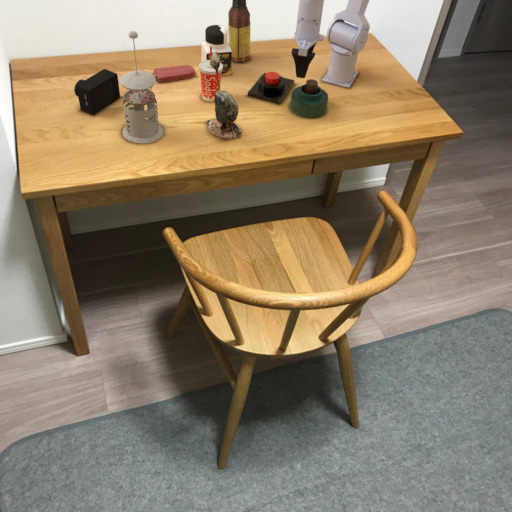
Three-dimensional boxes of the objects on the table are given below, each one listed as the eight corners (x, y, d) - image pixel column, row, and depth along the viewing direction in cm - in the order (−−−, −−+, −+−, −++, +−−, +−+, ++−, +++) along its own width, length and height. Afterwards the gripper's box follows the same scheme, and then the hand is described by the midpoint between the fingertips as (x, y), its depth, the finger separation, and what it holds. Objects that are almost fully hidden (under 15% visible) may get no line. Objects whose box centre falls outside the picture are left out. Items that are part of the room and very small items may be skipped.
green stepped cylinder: (297, 95, 153) (299, 77, 149) (330, 104, 151) (333, 85, 147) (285, 112, 147) (287, 93, 143) (319, 122, 145) (322, 103, 141)
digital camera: (104, 91, 149) (100, 66, 144) (120, 97, 147) (117, 73, 142) (76, 108, 142) (71, 83, 137) (93, 115, 141) (88, 90, 136)
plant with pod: (211, 147, 135) (212, 69, 120) (205, 120, 142) (204, 44, 128) (245, 144, 136) (249, 67, 122) (236, 118, 144) (239, 43, 129)
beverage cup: (194, 98, 149) (193, 48, 139) (206, 88, 153) (206, 38, 142) (214, 105, 147) (215, 55, 137) (226, 95, 151) (227, 45, 141)
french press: (117, 140, 134) (102, 39, 116) (131, 114, 142) (119, 15, 124) (157, 145, 134) (149, 44, 116) (169, 119, 142) (163, 20, 124)
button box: (264, 76, 159) (264, 66, 157) (294, 84, 157) (295, 74, 155) (247, 96, 151) (248, 86, 149) (278, 104, 149) (279, 94, 147)
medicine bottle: (206, 76, 157) (206, 34, 148) (201, 64, 162) (200, 23, 153) (231, 74, 159) (232, 33, 150) (225, 62, 163) (226, 21, 155)
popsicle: (138, 70, 154) (191, 63, 158) (138, 75, 155) (191, 68, 160) (142, 80, 151) (196, 72, 155) (143, 85, 152) (196, 77, 156)
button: (267, 76, 154) (268, 70, 153) (281, 79, 153) (282, 73, 152) (262, 82, 151) (262, 76, 150) (276, 86, 150) (276, 80, 149)
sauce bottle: (250, 54, 167) (254, -15, 153) (248, 64, 163) (252, -6, 149) (228, 52, 168) (230, -18, 153) (226, 62, 163) (227, -9, 149)
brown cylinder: (305, 102, 150) (308, 78, 145) (315, 105, 149) (319, 80, 144) (301, 107, 148) (304, 83, 143) (312, 110, 147) (315, 86, 142)
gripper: (322, 32, 128) (314, 86, 138) (329, 6, 138) (321, 58, 148) (292, 27, 129) (286, 82, 138) (301, 2, 138) (295, 54, 148)
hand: (302, 69), depth 143 cm, fingers open, 7 cm apart
